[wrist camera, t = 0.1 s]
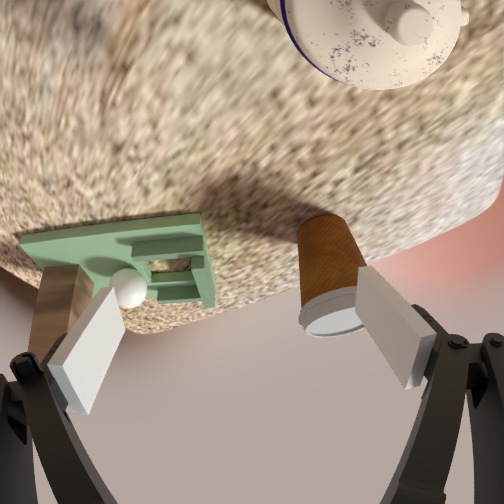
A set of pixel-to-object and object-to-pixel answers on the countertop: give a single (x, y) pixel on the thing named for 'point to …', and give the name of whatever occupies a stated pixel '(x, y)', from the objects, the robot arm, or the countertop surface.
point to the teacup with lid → (373, 37)
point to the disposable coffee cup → (328, 277)
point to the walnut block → (58, 305)
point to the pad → (133, 254)
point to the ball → (128, 287)
